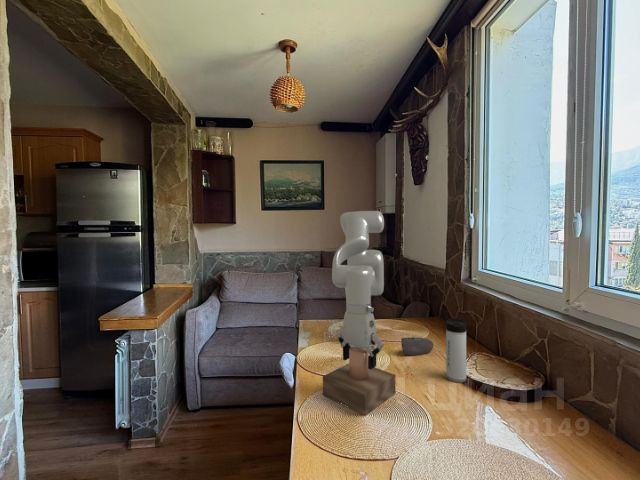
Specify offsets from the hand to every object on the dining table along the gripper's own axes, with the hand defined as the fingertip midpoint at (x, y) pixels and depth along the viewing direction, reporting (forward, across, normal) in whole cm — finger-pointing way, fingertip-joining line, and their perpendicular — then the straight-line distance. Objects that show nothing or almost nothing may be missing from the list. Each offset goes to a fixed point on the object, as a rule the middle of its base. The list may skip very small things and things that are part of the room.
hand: (359, 363), depth 96 cm
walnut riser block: (+10, 0, 0) cm, 10 cm away
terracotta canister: (+4, 0, 0) cm, 4 cm away
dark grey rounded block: (+10, +2, -42) cm, 43 cm away
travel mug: (+10, -18, -31) cm, 37 cm away
